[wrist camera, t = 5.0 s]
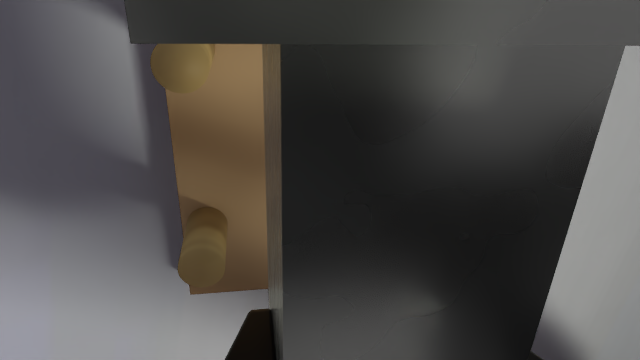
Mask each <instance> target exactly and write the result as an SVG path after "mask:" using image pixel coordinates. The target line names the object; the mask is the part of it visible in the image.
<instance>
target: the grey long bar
mask: <svg viewBox="0 0 640 360" xmlns="http://www.w3.org/2000/svg"><path fill="white" fill-rule="evenodd" d="M124 2H125V9H126V15H127V22H128V29H129V36H130V42H131V44H262V60H263V99H264V138H265V176H266V215H267V254H268V293H269V309H271V312H272V322H273V332H274V342H275V352H276V360H528V357H529V354H530V350H531V347H532V344H533V341H534V338H535V334H536V331H537V328H538V325H539V322H540V318H541V315H542V312H543V309H544V305H545V302H546V299H547V296H548V293H549V289H550V286H551V283H552V280H553V276H554V273H555V270H556V267H557V264H558V260H559V257H560V254H561V251H562V248H563V244H564V241H565V238H566V235H567V231H568V228H569V225H570V222H571V219H572V215H573V212H574V209H575V206H576V203H577V199H578V196H579V193H580V190H581V186H582V183H583V180H584V177H585V174H586V170H587V167H588V164H589V161H590V157H591V154H592V151H593V148H594V145H595V141H596V138H597V135H598V132H599V129H600V125H601V122H602V119H603V116H604V112H605V109H606V106H607V103H608V100H609V96H610V93H611V90H612V87H613V84H614V80H615V77H616V74H617V71H618V67H619V64H620V61H621V58H622V55H623V51H624V48H625V46H640V0H124Z"/></svg>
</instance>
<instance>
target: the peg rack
mask: <svg viewBox="0 0 640 360" xmlns="http://www.w3.org/2000/svg"><path fill="white" fill-rule="evenodd" d="M150 64H151V70H152V73H153V75H154V77H155V79H156V80H157V81H158V82H159V84H161V85H162V86H163V87H164V88H165V90H166V98H167V106H168V114H169V123H170V131H171V139H172V147H173V156H174V164H175V172H176V180H177V189H178V197H179V205H180V213H181V222H182V230H183V238H184V239H183V244H182V249H181V253H180V258H179V263H178V273H179V276H180V278H181V279H182V280H183V281H184V282H185V283H187V284H189V287H190V295H191V294H204V293H217V292H230V291H243V290H256V289H268V254H267V215H266V176H265V138H264V99H263V60H262V44H157V45H156V47H155V48H154V50H153V52H152V54H151V60H150Z"/></svg>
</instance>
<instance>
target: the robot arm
mask: <svg viewBox="0 0 640 360" xmlns="http://www.w3.org/2000/svg"><path fill="white" fill-rule="evenodd" d="M225 360H276V352H275V342H274V332H273V322H272V312H271V309H258V310H251V311H250V312H249V313H248V315H247V317H246V319H245V321H244V323H243V325H242V327H241V329H240V331H239V333H238V335H237V337H236V339H235V340H234V342H233V344H232V346H231V348H230V350H229V352H228V354H227V356H226V358H225ZM528 360H543V359H542V358H540V357H539V356H537V355H536V354H534V353H533V352H532V351H530V354H529V357H528Z"/></svg>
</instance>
